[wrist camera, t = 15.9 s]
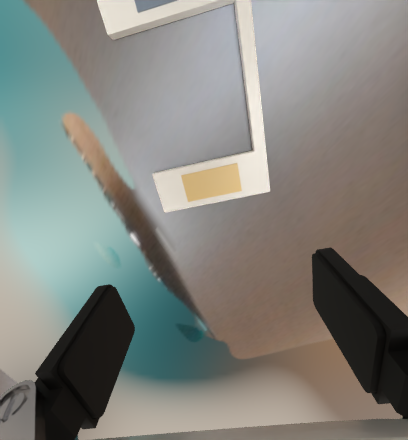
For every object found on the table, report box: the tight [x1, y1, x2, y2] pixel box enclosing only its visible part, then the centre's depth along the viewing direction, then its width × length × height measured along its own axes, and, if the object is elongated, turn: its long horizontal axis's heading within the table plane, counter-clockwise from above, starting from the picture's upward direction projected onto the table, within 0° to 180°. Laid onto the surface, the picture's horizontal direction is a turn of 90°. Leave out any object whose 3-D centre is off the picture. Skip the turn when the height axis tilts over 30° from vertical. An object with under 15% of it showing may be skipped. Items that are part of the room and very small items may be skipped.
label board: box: [97, 0, 270, 213], centre depth 26 cm, size 16×28×2 cm, turn 13°
